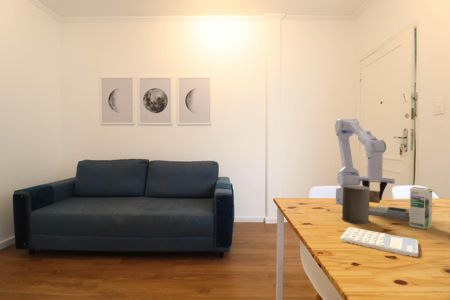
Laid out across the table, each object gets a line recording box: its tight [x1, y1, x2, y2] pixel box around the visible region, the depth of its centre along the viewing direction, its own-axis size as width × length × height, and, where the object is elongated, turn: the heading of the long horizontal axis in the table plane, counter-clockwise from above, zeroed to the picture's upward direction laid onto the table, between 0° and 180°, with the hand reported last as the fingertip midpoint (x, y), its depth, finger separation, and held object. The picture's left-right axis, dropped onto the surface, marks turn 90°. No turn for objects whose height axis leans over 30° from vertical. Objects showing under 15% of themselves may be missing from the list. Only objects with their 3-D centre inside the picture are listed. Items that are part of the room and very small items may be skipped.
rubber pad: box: [374, 205, 388, 210], centre depth 120 cm, size 7×7×1 cm
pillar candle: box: [341, 183, 371, 225], centre depth 103 cm, size 10×10×15 cm
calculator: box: [340, 226, 419, 258], centre depth 81 cm, size 13×20×2 cm, turn 53°
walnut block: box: [369, 189, 381, 204], centre depth 112 cm, size 4×4×4 cm
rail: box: [369, 206, 410, 222], centre depth 110 cm, size 18×8×4 cm, turn 54°
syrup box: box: [409, 186, 433, 231], centre depth 96 cm, size 6×6×14 cm
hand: (374, 198), depth 111 cm, fingers closed on walnut block, 4 cm apart
